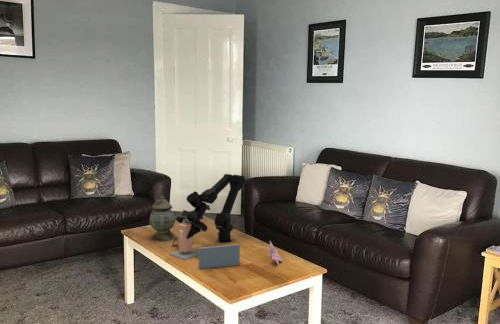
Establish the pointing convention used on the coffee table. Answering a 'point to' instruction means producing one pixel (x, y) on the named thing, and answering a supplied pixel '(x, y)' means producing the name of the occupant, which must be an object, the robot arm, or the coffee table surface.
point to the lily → (274, 254)
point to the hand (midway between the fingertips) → (183, 237)
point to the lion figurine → (175, 240)
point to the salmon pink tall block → (184, 237)
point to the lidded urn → (162, 220)
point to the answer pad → (184, 254)
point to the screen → (219, 256)
